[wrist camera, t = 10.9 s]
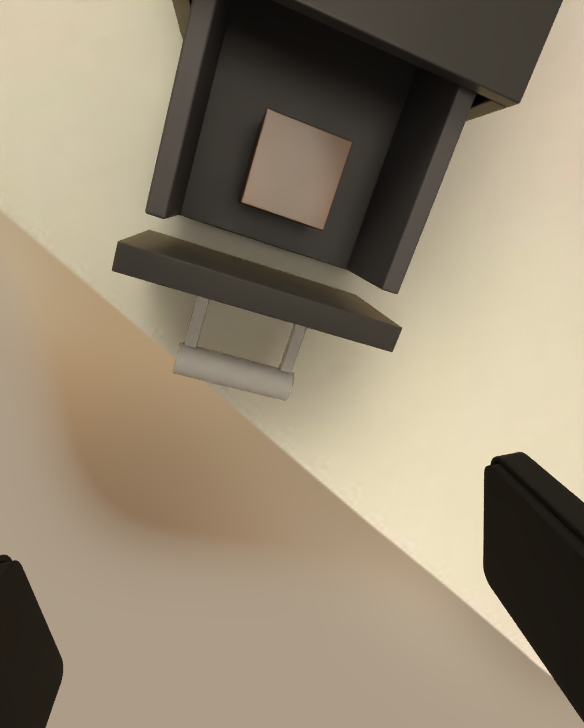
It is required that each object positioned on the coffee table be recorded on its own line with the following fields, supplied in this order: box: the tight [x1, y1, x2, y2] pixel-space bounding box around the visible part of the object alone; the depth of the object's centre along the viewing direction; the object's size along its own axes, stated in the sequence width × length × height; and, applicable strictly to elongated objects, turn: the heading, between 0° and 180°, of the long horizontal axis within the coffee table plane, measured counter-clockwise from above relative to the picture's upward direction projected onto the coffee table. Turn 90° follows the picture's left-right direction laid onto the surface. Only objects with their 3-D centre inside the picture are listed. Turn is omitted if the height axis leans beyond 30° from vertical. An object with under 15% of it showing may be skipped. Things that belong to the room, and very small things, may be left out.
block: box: [238, 108, 353, 231], centre depth 22 cm, size 4×4×4 cm
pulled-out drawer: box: [112, 0, 476, 401], centre depth 22 cm, size 19×12×8 cm, turn 162°
